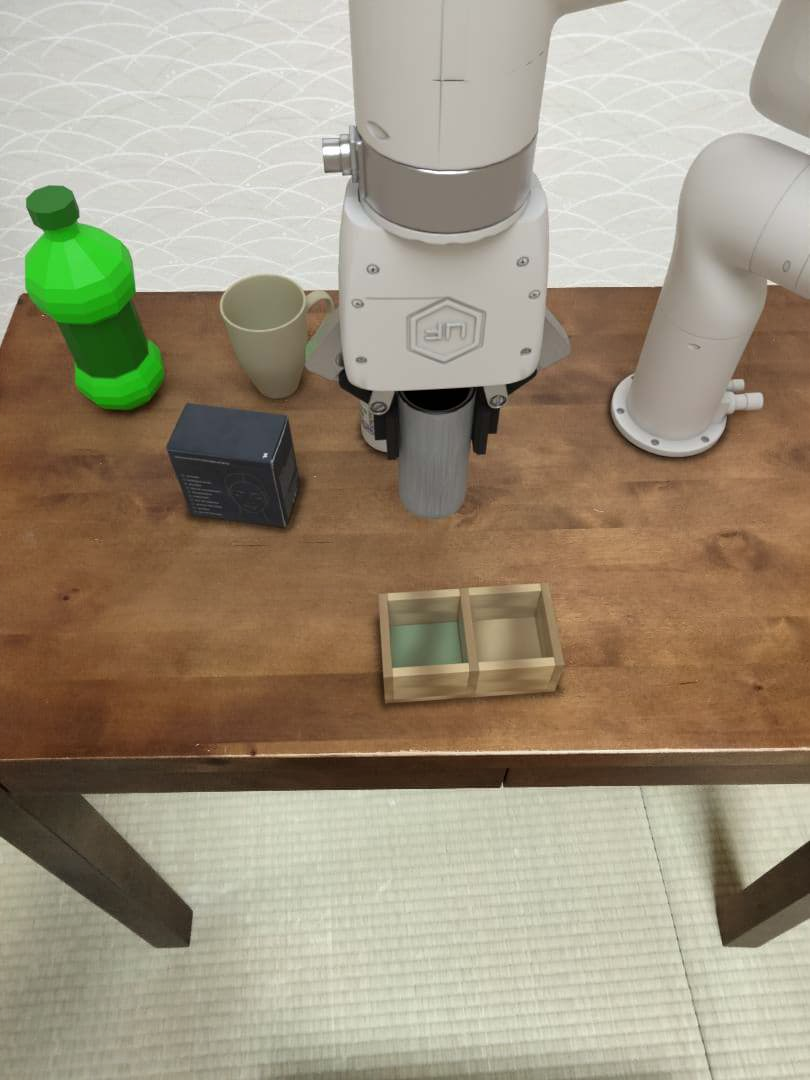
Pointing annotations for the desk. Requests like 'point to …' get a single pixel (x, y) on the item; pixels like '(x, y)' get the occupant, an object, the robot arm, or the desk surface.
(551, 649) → the wooden divided tray
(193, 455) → the box
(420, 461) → the grey hollow cylinder
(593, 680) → the desk surface
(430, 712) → the desk surface
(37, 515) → the desk surface
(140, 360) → the plastic bottle
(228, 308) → the mug
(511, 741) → the desk surface
